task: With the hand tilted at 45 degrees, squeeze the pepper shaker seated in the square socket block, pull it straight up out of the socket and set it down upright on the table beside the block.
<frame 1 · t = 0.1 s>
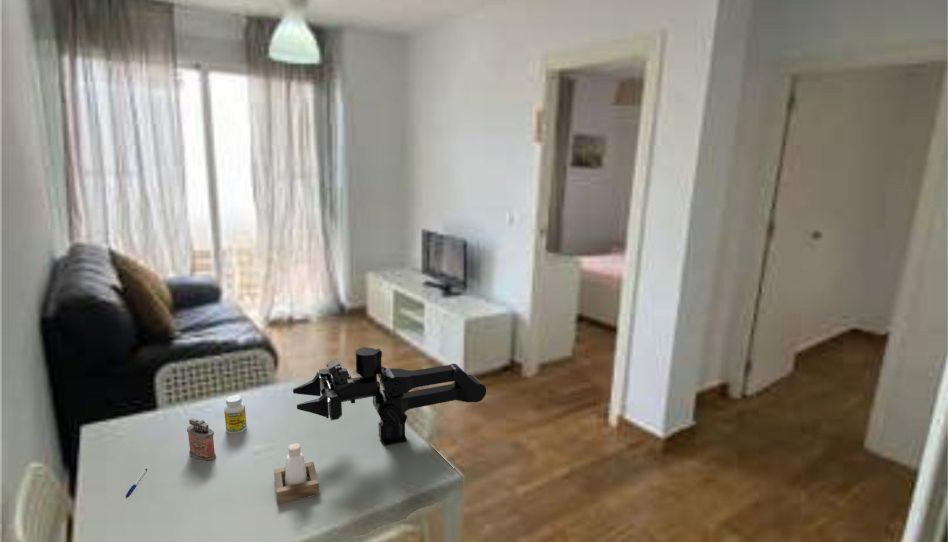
hand: (294, 398, 133), 17 cm above the table, tool horizontal, fingers open, 9 cm apart
lighter: (202, 456, 137), on the table
pepper shaker: (296, 488, 125), resting in socket block
socket block: (296, 487, 125), on the table
ballpoint pen: (137, 484, 125), on the table
supplement bottle: (236, 430, 150), on the table
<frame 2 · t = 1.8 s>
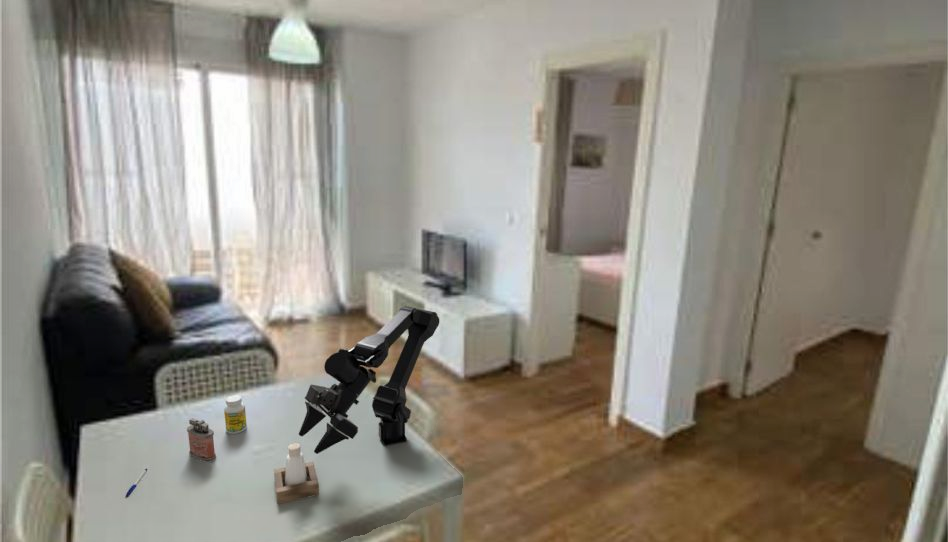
hand: (307, 444, 125), 10 cm above the table, tool tilted 45°, fingers open, 9 cm apart
nothing on the table moved.
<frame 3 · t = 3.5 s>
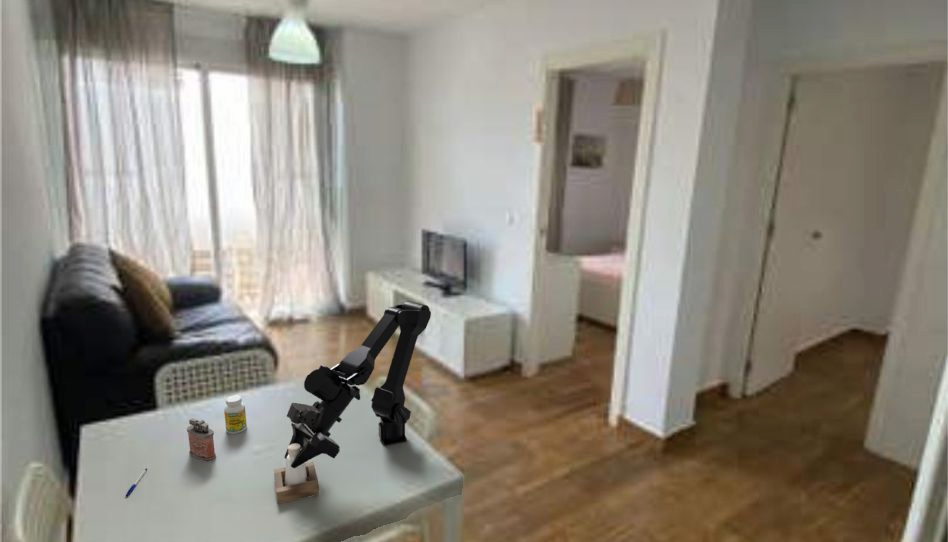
hand: (289, 463, 123), 7 cm above the table, tool tilted 45°, fingers closed on pepper shaker, 4 cm apart
pepper shaker: (296, 488, 125), resting in socket block, touching gripper
everything else where it was.
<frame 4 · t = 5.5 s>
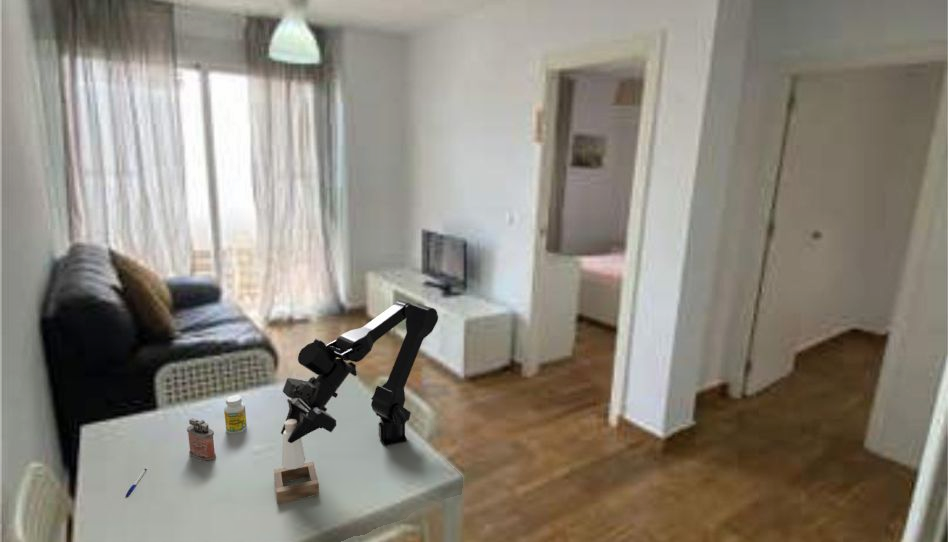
hand: (285, 438, 123), 13 cm above the table, tool tilted 45°, fingers closed on pepper shaker, 4 cm apart
pepper shaker: (293, 463, 125), point 5 cm above the table, touching gripper
everything else where it was.
when the fingers open (8 cm above the table, at t = 7.8 s): pepper shaker stays where it is, on the table.
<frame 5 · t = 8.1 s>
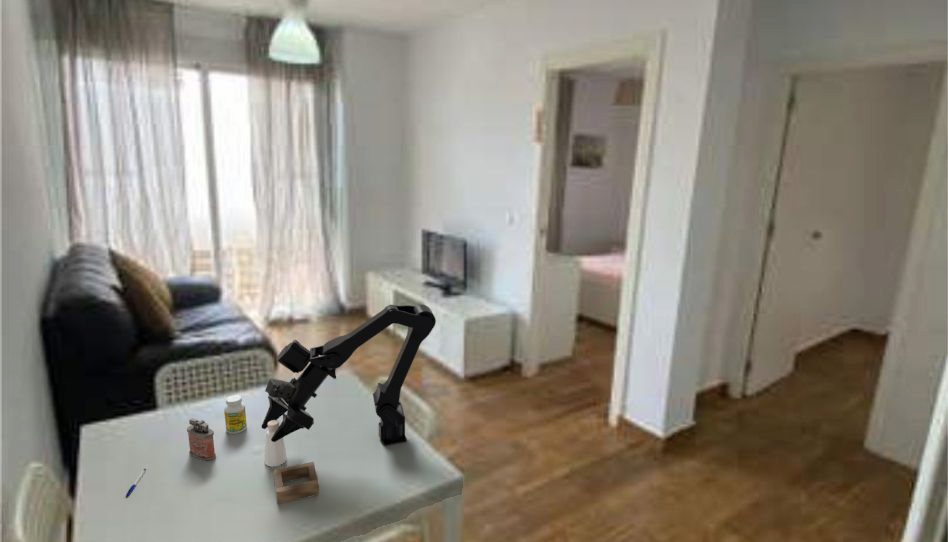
hand: (267, 434, 133), 8 cm above the table, tool tilted 45°, fingers open, 7 cm apart
pepper shaker: (275, 461, 135), on the table
everything else where it was.
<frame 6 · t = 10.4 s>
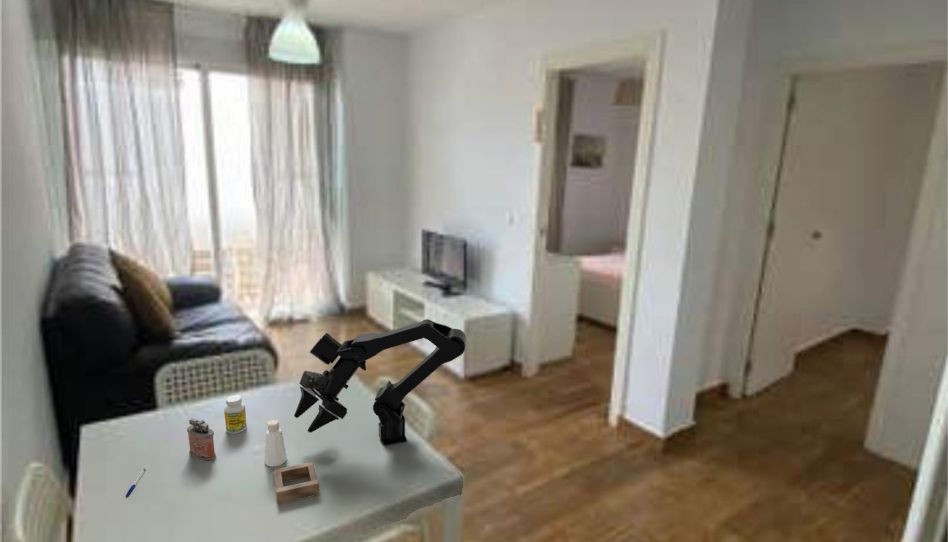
hand: (302, 424, 138), 8 cm above the table, tool tilted 45°, fingers open, 9 cm apart
nothing on the table moved.
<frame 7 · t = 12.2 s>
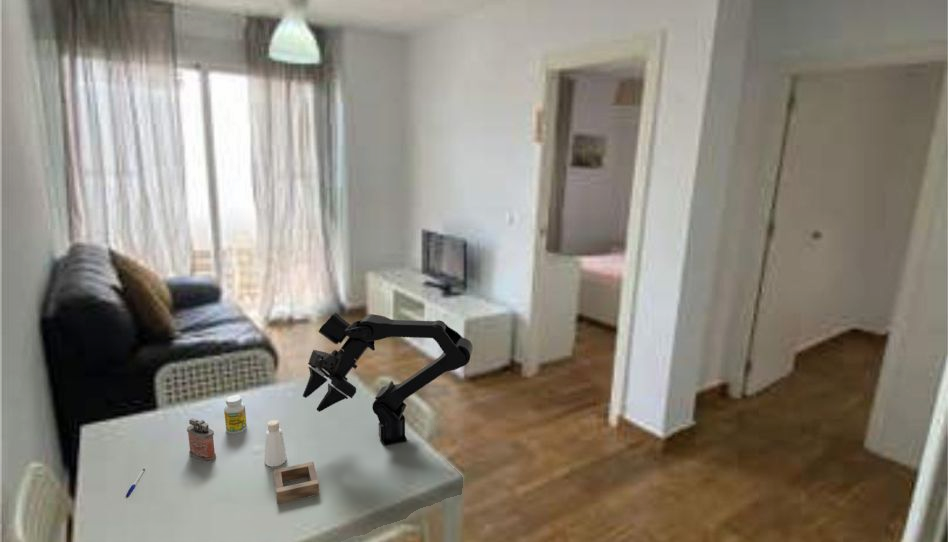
hand: (310, 403, 137), 14 cm above the table, tool tilted 45°, fingers open, 9 cm apart
nothing on the table moved.
at the end: pepper shaker inside the target area (0.2 cm from its centre), on the table; pepper shaker tilted 0°; pepper shaker touching table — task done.
